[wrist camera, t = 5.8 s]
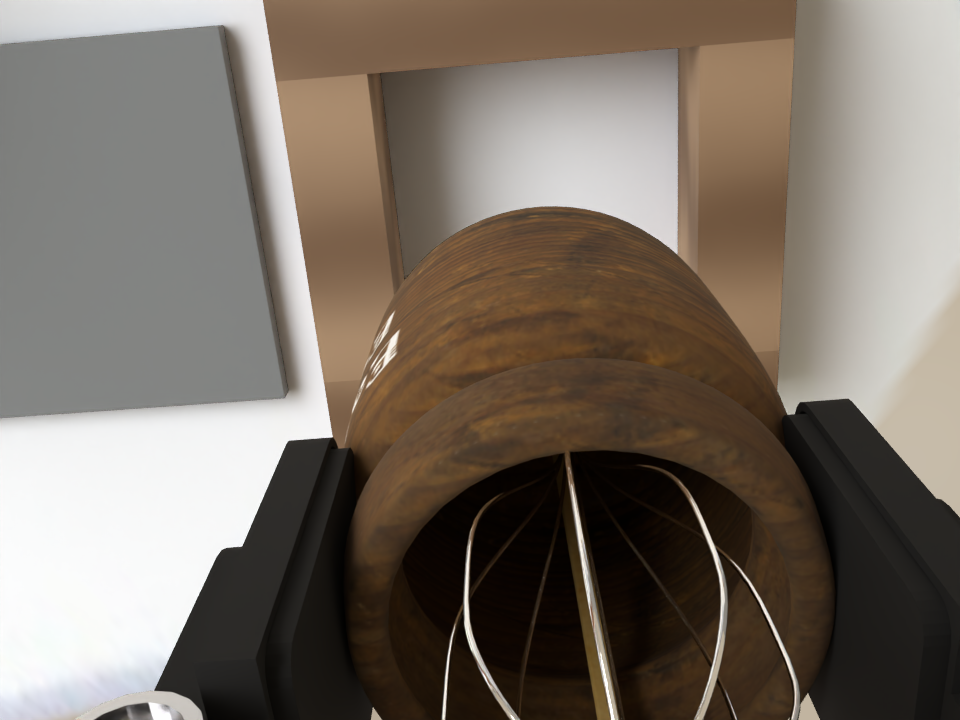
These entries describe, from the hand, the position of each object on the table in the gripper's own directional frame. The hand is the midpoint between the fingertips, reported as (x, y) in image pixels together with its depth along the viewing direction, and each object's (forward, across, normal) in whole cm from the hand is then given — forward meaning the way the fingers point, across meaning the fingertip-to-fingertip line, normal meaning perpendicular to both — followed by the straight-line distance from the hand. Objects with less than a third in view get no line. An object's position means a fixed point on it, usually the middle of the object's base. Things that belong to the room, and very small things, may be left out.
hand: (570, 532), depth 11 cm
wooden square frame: (+19, -1, 0) cm, 19 cm away
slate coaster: (+19, +14, 0) cm, 24 cm away
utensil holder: (+5, 0, 0) cm, 5 cm away
